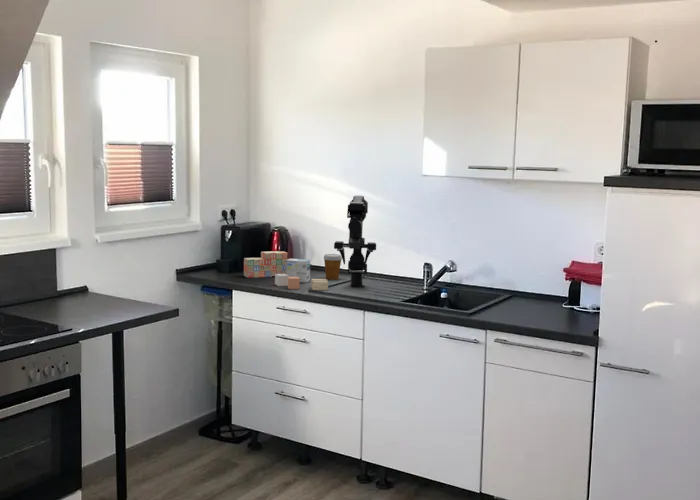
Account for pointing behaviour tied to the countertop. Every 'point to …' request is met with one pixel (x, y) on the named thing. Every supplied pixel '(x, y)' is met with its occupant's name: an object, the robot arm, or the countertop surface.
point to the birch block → (319, 284)
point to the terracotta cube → (293, 282)
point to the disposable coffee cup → (332, 266)
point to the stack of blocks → (266, 264)
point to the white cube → (281, 279)
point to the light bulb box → (299, 269)
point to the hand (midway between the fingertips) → (354, 264)
